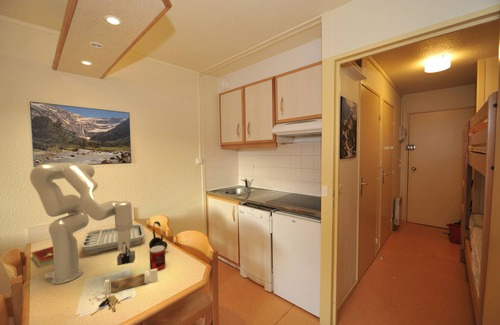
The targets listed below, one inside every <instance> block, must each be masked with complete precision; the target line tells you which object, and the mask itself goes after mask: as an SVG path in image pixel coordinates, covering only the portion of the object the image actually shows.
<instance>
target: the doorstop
mask: <svg viewBox="0 0 500 325" xmlns="http://www.w3.org/2000/svg"><path fill="white" fill-rule="evenodd" d="M128 255H129V261H130V263H128V264H134V262H135V259H136V250H132V251H131V250H130V252H128ZM116 263H117V264H116V265H117V266H122V252H119V254H118V255H117V257H116ZM128 264H127V265H128Z"/></svg>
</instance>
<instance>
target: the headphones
mask: <svg viewBox="0 0 500 325" xmlns="http://www.w3.org/2000/svg"><path fill="white" fill-rule="evenodd" d="M155 225H157V226H158V227H159V229H160V233H161V234H160V237H159V236H157V237H156V230H155ZM152 235H153V238H152V239H151V240H150V241H149V243H148V246H149V250H150V249H151V248H152V247H155V246H164V247H165V251H166V250H167V249H168V244H167V241H165V240H164V237H163V236H164V235H163V229H162V226H161V223H160V221H154V223H153V226H152Z"/></svg>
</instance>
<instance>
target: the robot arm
mask: <svg viewBox="0 0 500 325" xmlns="http://www.w3.org/2000/svg"><path fill="white" fill-rule="evenodd" d="M95 172H96V171H95V169H94V167H93V166H92V165H91V164H89V163H82V162H81V163H80V162H51V163H50V162H49V163H43V164H39V165H36V166H35V167H33V169H31V171H30V174H29V180H30V182H31V184H32V186H33V188H34V189H35V191H36V193H37V194H38V197H39V199H40V201H41V204H42V206H43V208H44V211H45V213H46V214H47V215H48V216H49V217H52V218H53V217H59V218H57V219H55V220H54V221H52V222H51V223H50V224H49V227H48V233H49V235H50V236H49V237H50V238H51V243H52V247H53V255H54V264H53V267H54V268H53V269H54V270H53V271H49V272H44V274H43V277H44V279H46V280H47V279H50V278H51V279H50V283H51V284H53V285H61V284H65V283H69V282H71V281H74V280H76V279H78V278H80V277H81V276H82V275H83V273H84V271H83V269H82V268H80V265H79V250H78V249H79V248H78V245H79V244H78V240H77V238H76V237H75V236H74V233H76V232H78V231H81V230H82V229H83V230H84V229H85V228H86V227H87V226H88V224H89V220H90V219H89V217H90V218H91V219H93V220H95V221H99V222H100V221H103V220H106V219H108V218H110V217H114V224H115V229H116V231H117V232H118V247H117V252H119V253H122V265H128V263H129V264H131V263H130V261H129V255H128V252H130V251H131V250H130V249H131V246H130V244H131V232H130V229H132V228H133V213H132V212H133V209H132V202H131V201H128V200H125V201H124V200H123V201H118V200H109V201H105V202H103V203H99V202H98V201H97V200H96V199H95V198H94V195H93V193H94V192H95V191H96V190H97V188H98V186H99V185H98V183H97V182H96V181H95V179H93V177H94V176H95ZM61 179H65V180H66V182H68V184H69V185H70V186H71V187H72V188H74V189H75V191H76V192H78V193H79V195H80V196H77V195H76V194H65V195H64V194H63V191H62V189H61V187H60V186H59V185H58V184H57V183H56V182H54V181H53V180H61ZM65 214H68V215H66V216H63V217H60V216H62V215H65ZM122 265H121V266H122Z"/></svg>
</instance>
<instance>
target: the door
mask: <svg viewBox="0 0 500 325" xmlns="http://www.w3.org/2000/svg"><path fill="white" fill-rule="evenodd" d="M143 285H146V279H145V272H144V273H140V274H139V273H138V274H136V275H135V274H134V275H130V276H126V277H123V278H118V279H113V280H110V293H114V292H119V291H123V290H127V289H131V288H133V287H138V286H143Z"/></svg>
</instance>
